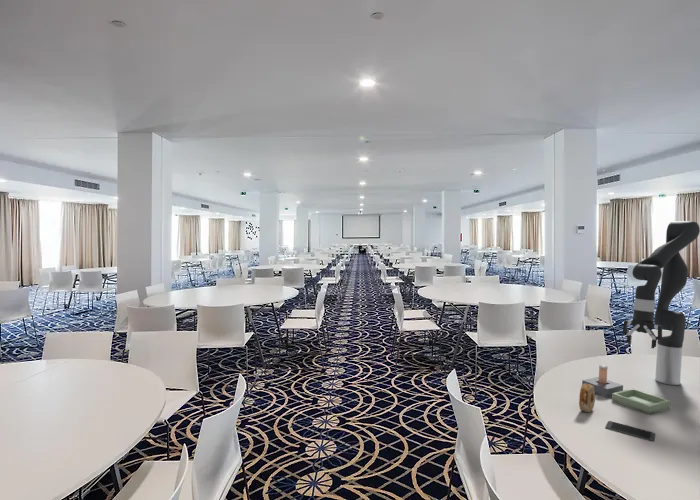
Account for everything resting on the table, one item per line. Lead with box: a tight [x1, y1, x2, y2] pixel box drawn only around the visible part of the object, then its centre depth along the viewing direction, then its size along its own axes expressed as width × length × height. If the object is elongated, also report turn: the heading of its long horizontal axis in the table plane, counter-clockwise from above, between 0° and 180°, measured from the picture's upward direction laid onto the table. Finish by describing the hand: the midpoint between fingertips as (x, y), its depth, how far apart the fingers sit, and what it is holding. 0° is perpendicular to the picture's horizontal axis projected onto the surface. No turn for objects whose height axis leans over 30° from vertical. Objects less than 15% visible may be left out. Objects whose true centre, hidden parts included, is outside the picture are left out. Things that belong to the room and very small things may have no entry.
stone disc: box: [578, 384, 596, 413], centre depth 160 cm, size 10×4×10 cm, turn 134°
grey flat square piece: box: [581, 376, 624, 398], centre depth 181 cm, size 11×11×4 cm
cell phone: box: [604, 420, 656, 442], centre depth 144 cm, size 7×14×1 cm, turn 50°
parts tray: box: [611, 388, 671, 415], centre depth 167 cm, size 14×14×3 cm
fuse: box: [598, 364, 609, 385], centre depth 181 cm, size 3×3×11 cm
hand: (640, 346), depth 185 cm, fingers open, 8 cm apart
